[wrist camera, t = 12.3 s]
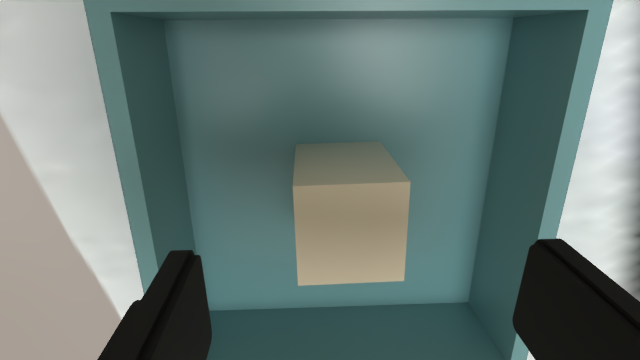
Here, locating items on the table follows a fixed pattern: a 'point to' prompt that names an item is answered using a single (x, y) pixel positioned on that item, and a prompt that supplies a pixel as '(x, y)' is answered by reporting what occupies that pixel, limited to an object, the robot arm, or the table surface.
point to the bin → (341, 127)
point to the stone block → (349, 214)
